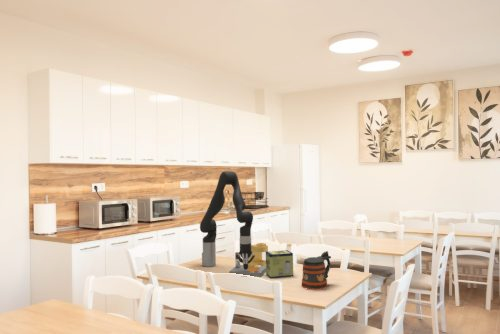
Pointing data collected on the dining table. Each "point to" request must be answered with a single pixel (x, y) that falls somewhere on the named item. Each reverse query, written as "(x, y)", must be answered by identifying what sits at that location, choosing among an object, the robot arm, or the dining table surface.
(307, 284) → the beer stein
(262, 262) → the tan lumpy shape
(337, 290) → the dining table surface
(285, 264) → the protein box
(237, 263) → the awl
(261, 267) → the subfloor board
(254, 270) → the stud finder
